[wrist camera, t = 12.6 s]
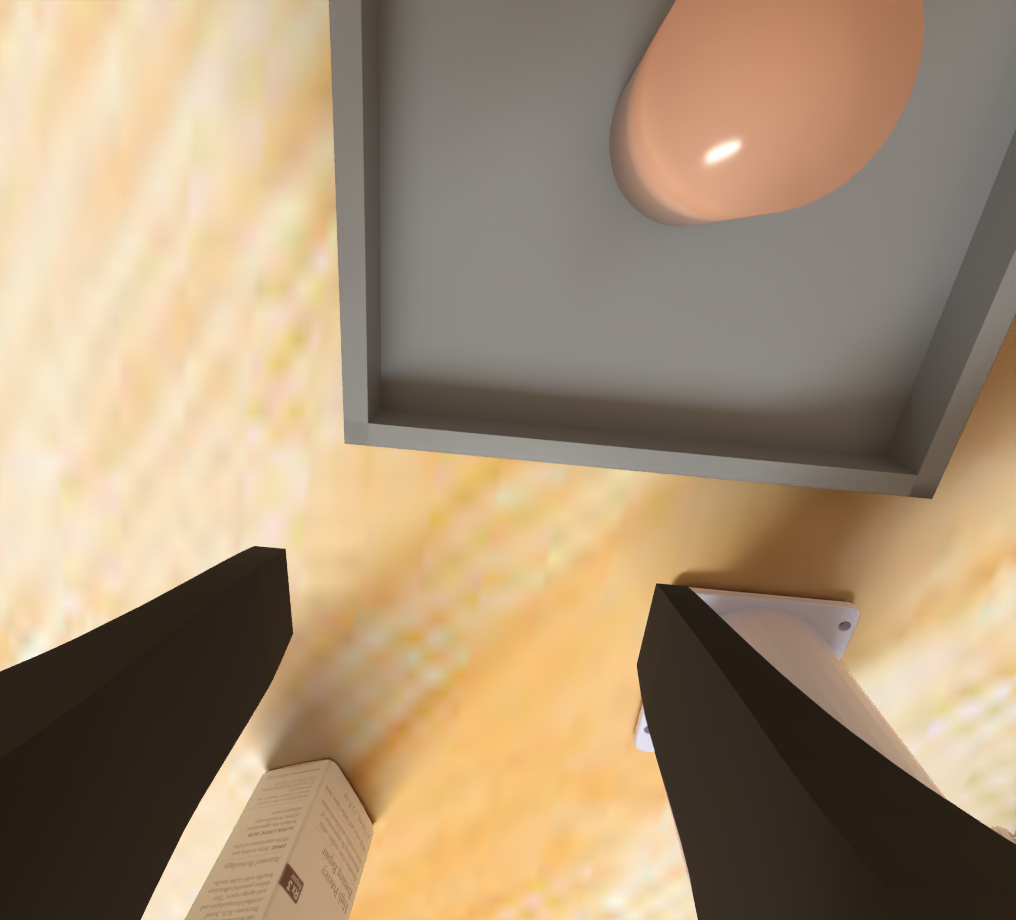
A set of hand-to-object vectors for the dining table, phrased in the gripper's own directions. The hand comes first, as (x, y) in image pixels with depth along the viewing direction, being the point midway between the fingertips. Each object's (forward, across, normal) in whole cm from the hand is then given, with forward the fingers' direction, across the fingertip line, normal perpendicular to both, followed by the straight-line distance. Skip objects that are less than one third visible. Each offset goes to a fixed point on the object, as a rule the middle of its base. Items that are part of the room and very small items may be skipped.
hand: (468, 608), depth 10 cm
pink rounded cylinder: (+10, -5, -10) cm, 15 cm away
